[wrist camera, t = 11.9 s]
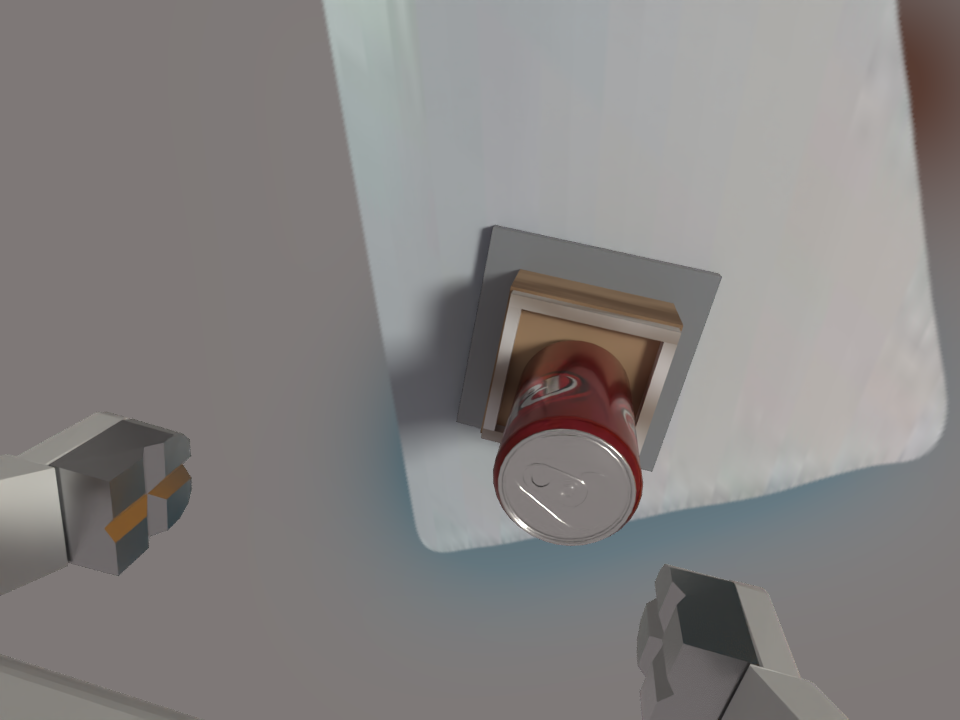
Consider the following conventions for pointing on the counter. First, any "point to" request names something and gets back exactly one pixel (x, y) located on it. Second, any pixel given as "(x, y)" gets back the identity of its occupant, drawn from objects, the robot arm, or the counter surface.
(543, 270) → the plate
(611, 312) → the wooden tray
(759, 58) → the counter surface
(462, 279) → the counter surface
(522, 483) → the soda can
